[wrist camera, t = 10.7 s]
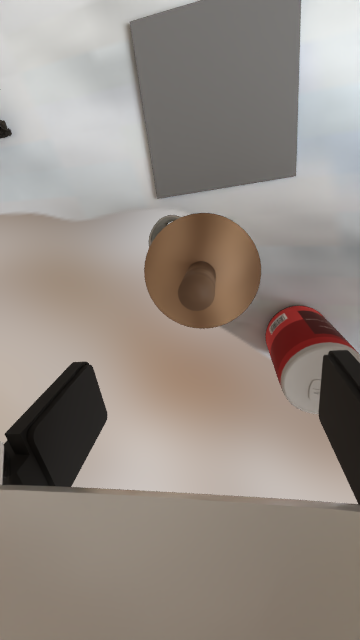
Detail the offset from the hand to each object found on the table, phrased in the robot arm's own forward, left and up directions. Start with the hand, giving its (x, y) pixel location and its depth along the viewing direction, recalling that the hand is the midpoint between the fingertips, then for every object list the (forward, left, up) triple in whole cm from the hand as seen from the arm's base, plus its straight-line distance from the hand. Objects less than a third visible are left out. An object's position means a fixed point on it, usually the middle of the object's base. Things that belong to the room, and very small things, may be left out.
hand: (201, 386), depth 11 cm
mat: (-2, -16, -24) cm, 29 cm away
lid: (+1, -1, -17) cm, 17 cm away
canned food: (-10, +10, -24) cm, 28 cm away
